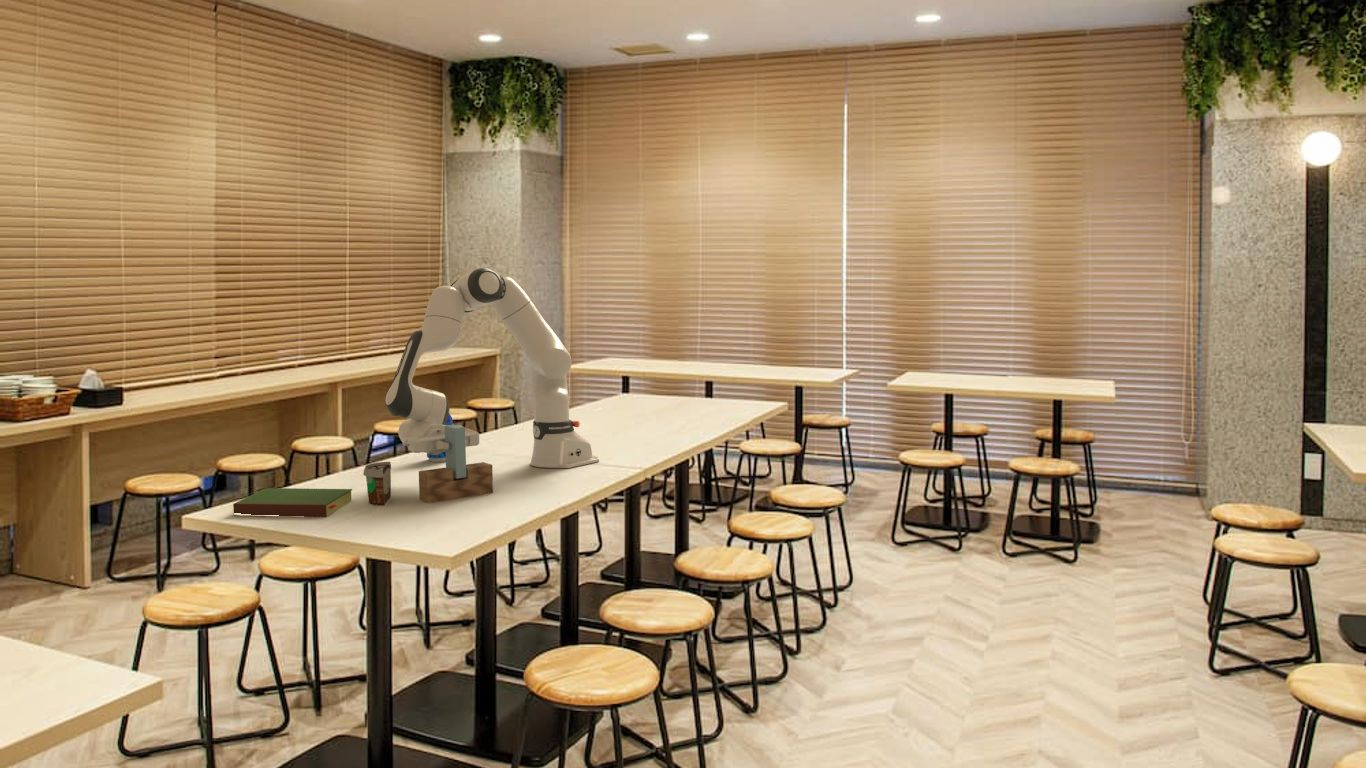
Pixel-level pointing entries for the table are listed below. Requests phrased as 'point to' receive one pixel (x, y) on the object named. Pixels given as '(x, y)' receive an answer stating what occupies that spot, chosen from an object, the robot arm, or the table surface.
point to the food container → (378, 482)
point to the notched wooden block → (455, 483)
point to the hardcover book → (294, 502)
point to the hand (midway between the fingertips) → (456, 445)
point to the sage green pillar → (456, 450)
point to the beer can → (442, 456)
